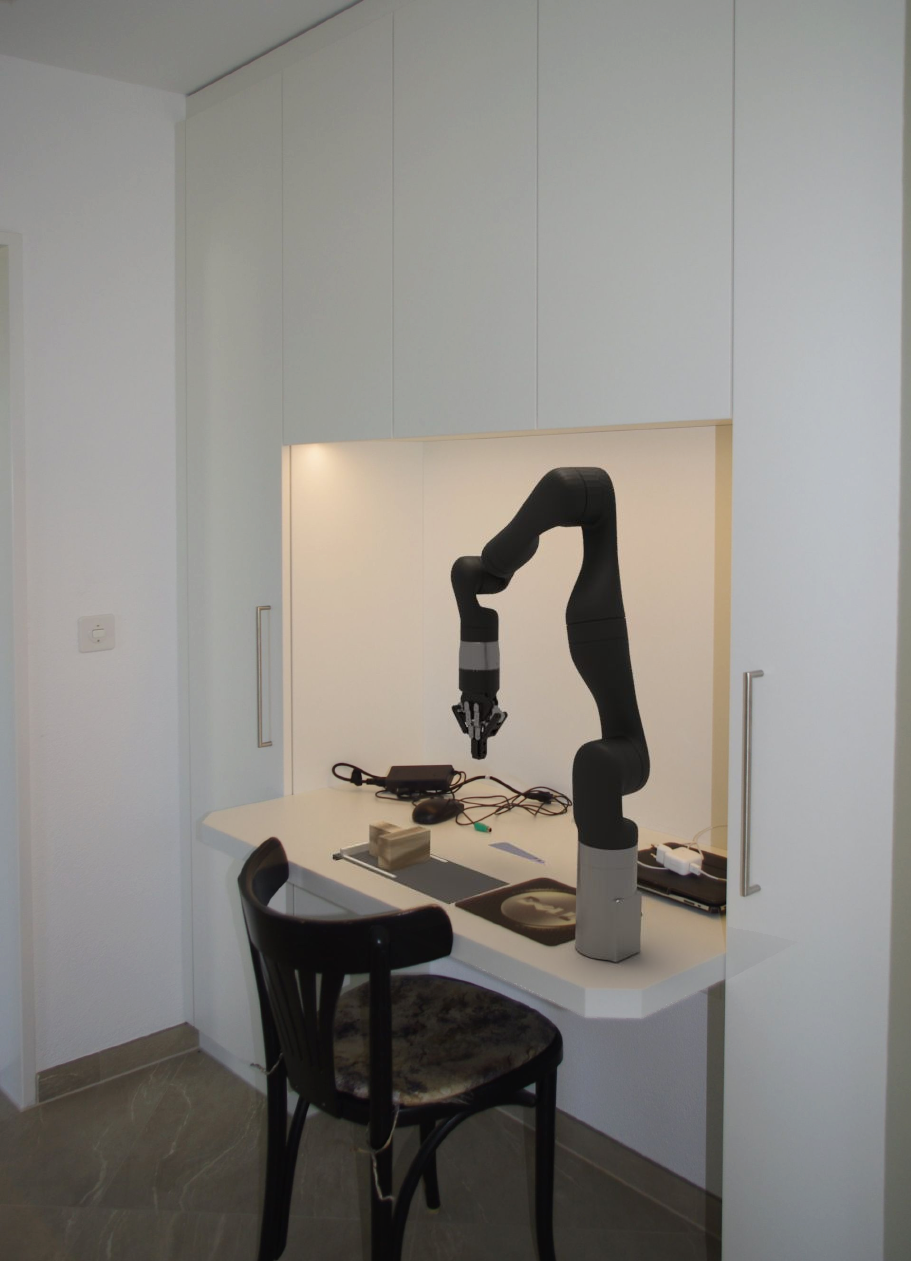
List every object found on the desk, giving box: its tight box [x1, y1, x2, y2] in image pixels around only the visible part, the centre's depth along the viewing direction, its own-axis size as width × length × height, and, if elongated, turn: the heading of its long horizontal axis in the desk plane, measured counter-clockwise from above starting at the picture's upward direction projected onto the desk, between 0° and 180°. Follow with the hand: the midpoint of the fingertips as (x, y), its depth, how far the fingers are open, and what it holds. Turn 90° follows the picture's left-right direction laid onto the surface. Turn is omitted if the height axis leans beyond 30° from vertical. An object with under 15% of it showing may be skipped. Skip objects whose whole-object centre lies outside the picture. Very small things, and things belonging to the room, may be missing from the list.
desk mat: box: [332, 840, 510, 905], centre depth 188 cm, size 34×15×2 cm, turn 43°
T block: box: [368, 820, 431, 872], centre depth 193 cm, size 10×10×6 cm
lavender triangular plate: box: [488, 841, 547, 866], centre depth 198 cm, size 8×1×15 cm
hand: (478, 758), depth 183 cm, fingers closed
